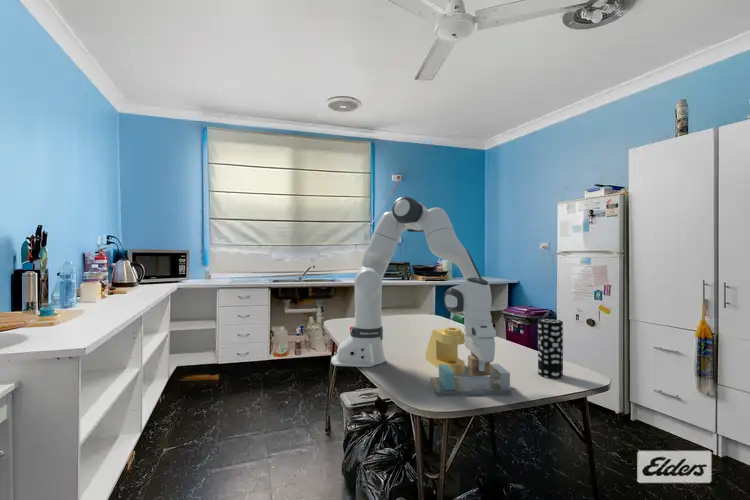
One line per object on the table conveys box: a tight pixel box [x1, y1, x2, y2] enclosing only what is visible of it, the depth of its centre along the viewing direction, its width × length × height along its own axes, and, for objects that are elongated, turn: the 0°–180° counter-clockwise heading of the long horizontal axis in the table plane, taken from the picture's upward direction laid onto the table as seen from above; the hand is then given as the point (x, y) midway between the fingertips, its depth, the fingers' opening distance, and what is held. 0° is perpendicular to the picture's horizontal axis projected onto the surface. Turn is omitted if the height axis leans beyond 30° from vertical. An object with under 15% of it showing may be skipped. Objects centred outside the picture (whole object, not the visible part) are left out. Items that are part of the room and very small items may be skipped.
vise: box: [429, 363, 513, 397], centre depth 125 cm, size 24×13×6 cm, turn 92°
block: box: [467, 354, 491, 377], centre depth 125 cm, size 6×4×6 cm
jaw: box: [438, 364, 456, 390], centre depth 124 cm, size 3×10×5 cm, turn 2°
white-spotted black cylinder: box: [537, 318, 564, 380], centre depth 137 cm, size 8×8×20 cm
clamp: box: [425, 326, 466, 375], centre depth 148 cm, size 20×9×16 cm, turn 15°
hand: (478, 367), depth 125 cm, fingers closed on block, 4 cm apart
